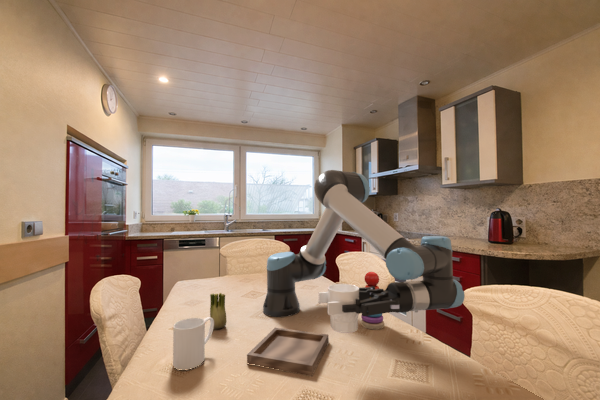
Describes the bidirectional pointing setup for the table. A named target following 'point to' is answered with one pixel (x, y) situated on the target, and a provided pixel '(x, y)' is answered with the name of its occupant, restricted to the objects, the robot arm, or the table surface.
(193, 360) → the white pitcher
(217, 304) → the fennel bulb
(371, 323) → the stacking toy
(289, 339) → the tray
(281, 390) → the table surface
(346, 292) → the white cup
